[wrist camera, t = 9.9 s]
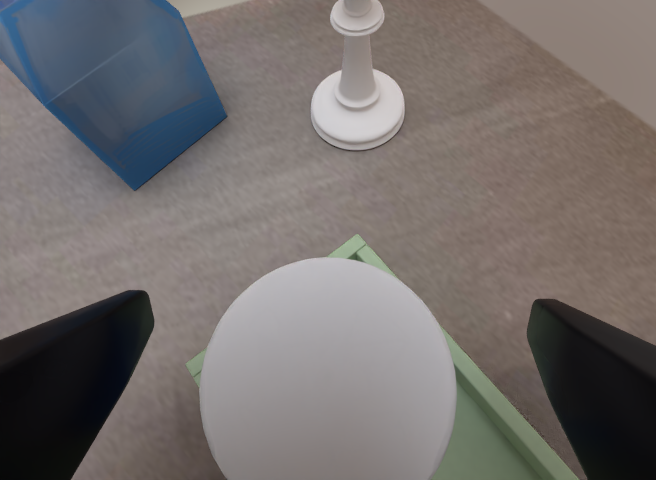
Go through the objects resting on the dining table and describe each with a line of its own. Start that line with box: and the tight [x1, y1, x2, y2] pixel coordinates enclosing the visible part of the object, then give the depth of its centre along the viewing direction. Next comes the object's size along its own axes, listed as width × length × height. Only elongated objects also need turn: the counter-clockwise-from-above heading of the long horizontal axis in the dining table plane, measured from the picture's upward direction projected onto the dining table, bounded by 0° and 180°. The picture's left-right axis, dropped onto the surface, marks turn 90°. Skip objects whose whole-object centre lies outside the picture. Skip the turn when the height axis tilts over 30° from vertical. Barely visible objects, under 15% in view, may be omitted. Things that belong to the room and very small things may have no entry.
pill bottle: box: [199, 257, 457, 480], centre depth 10 cm, size 6×5×10 cm
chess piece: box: [311, 0, 405, 150], centre depth 16 cm, size 5×5×10 cm
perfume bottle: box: [0, 0, 227, 191], centre depth 16 cm, size 6×6×12 cm
